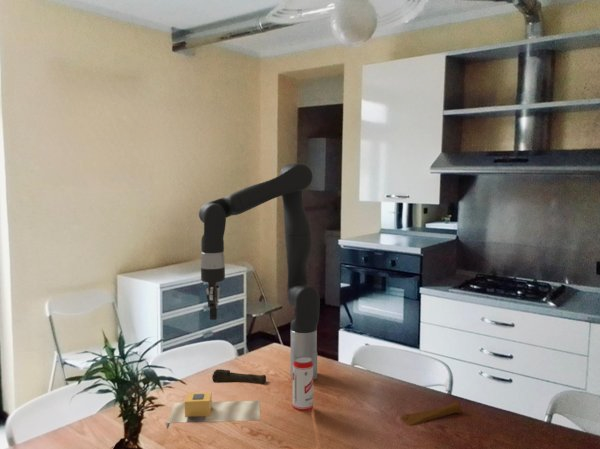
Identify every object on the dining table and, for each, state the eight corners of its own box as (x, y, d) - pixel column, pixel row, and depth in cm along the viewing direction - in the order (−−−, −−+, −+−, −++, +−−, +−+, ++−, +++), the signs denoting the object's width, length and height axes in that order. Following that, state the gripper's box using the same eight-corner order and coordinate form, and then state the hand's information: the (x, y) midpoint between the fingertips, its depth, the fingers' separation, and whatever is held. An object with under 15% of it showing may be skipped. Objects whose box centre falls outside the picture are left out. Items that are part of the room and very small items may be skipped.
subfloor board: (260, 405, 147) (260, 400, 147) (259, 425, 135) (259, 420, 135) (175, 407, 145) (174, 402, 145) (166, 427, 133) (166, 422, 133)
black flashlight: (267, 384, 162) (267, 371, 162) (263, 389, 158) (263, 375, 158) (215, 379, 167) (215, 366, 167) (211, 383, 163) (211, 370, 163)
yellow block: (211, 406, 142) (211, 391, 142) (209, 415, 137) (209, 400, 137) (188, 407, 142) (187, 392, 142) (184, 416, 136) (184, 401, 136)
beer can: (316, 408, 145) (316, 357, 144) (308, 417, 139) (308, 364, 138) (297, 404, 148) (298, 354, 146) (289, 412, 142) (289, 361, 141)
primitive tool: (409, 427, 135) (409, 415, 134) (398, 418, 140) (398, 407, 139) (463, 415, 142) (464, 404, 141) (451, 407, 147) (451, 396, 146)
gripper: (222, 269, 144) (223, 325, 146) (226, 262, 158) (227, 313, 159) (197, 269, 144) (198, 325, 146) (203, 262, 157) (204, 313, 159)
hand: (213, 318), depth 152 cm, fingers closed
